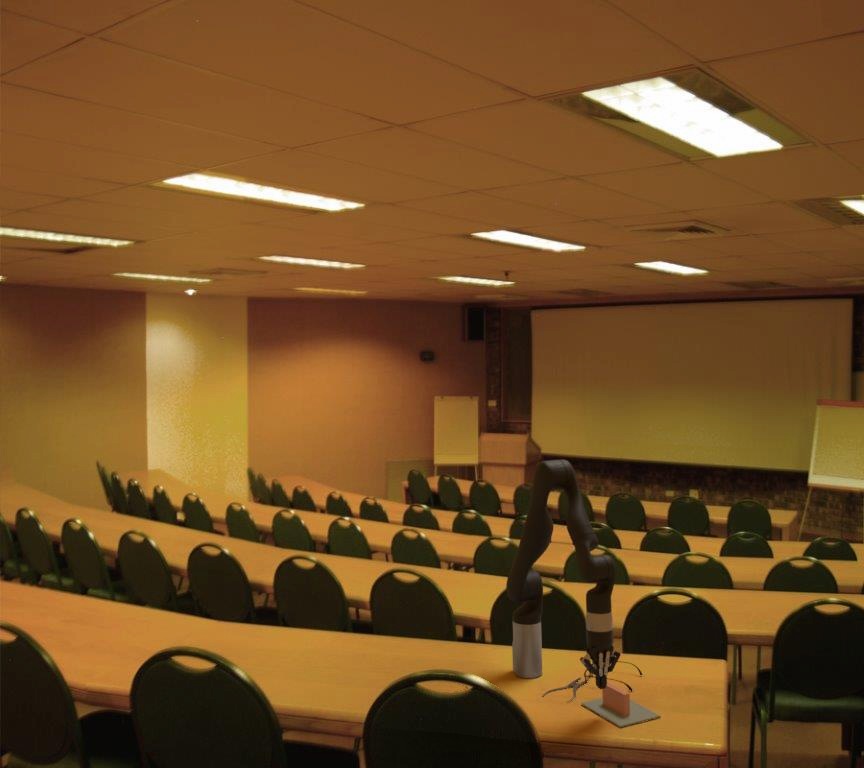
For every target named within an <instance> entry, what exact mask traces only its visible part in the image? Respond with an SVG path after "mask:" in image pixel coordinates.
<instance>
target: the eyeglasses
mask: <svg viewBox="0 0 864 768" xmlns="http://www.w3.org/2000/svg"><path fill="white" fill-rule="evenodd" d="M617 663H622V661H619V660H618V661H617ZM623 663H624V664H629V665H632V666H634V667H635V668H636V669H637V671H638V672H639V675H640V676H641V675H643V673H642V671H641V669H639V667H638V666H637V665H635V664H633V663H631V662H629V661H623ZM587 672H588V670H587V668H586V669H585V671H584V673H583V678H584V681H586V680H587V678H588V679H589V678H590V679H591V678H595V679H596V676H595V675H594V676H593V674H592V673H590V672H589V675H587V674H586V673H587ZM607 680H610V681H611V680H612V681H616V682H619V683H622V684H624V685H625V686H626V687H627V689H628V690H629V691H630V690H631V691H630V692H633V691H632V690H633V688H632V686H630V685H629V684H628V683H626V682H623V681H621V680H618V679H613V678H607ZM586 683H587V681H586ZM587 684H588V683H587Z"/></svg>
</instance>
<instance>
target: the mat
mask: <svg viewBox="0 0 864 768" xmlns="http://www.w3.org/2000/svg"><path fill="white" fill-rule="evenodd" d="M580 704H582V705H584V706H585V707H587V708H589V709H590V710H592V711H594V712H595V713H594V712H593V713H594V714H596V713H597V714H599V715H601V716H602V717H604V718H605V719H604V718H603V719H604V720H606V719H607V720H609V721H610V723H611V722H612V723H614V724H615V725H614V724H613V725H614V726H616V725H617V726H616V727H618V728H619V727H620V728H619V729H622V728H621V727H623V728H625V727H624V726H627V727H629V726H628V725H631V726H633V725H632V724H635V725H637V724H636V723H639V724H641V723H640V722H642V721H646V720H650V719H654V718H658V717H660V718H661V715H660V714H658V713H656V712H654V711H653V710H650V709H649V708H647V707H644V706H643V705H642V704H640V703H637V702H636V701H634V700H632V699H630V715H628V716H624V715H622V714H620V713H618V712H617V711H615V710H613V709H611V708H610V707H608V706H606V705H604V704H603V697H601V698H596V699H592V700H587V701H584V702H580ZM582 705H581V706H582ZM584 706H583V707H584ZM585 707H584V708H585ZM587 708H586V709H587ZM589 709H588V710H589ZM590 710H589V711H590ZM592 711H591V712H592ZM597 714H596V715H597ZM599 715H598V716H599ZM601 716H600V717H601ZM602 717H601V718H602ZM658 719H659V718H658ZM607 720H606V721H607ZM654 720H655V719H654ZM609 721H608V722H609ZM650 721H651V720H650ZM646 722H647V721H646ZM612 723H611V724H612ZM642 723H643V722H642Z"/></svg>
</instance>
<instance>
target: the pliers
mask: <svg viewBox="0 0 864 768" xmlns="http://www.w3.org/2000/svg"><path fill="white" fill-rule="evenodd" d="M581 679H582V678H581V677H578V678H576V679H575V680H573V681H571V682H570V683H569V684H567V685H566V686H562V687H557V688H553V689H550V690H547V691H546V692H544V693H542V695H541V697H542V698H544V697H545V696H546V695H548V694H550V693H552V692H558V691H562V690H563V689H564V690H567V688H568V689H570V687H571V688H572V693H573V692H574V693H573V697H572V698H571V699H569V700H568V701H566V703H567V702H569V701H572V700H573V699H574V698H575V697H576V691H578V689H579V688H581V687H580V686H582V685H584V684H586V681H588V682H589V678H588V679H587V678H586V681H585V680H583V681H581ZM578 680H580V681H581V682H579V681H578ZM576 682H578V683H576ZM586 685H587V684H586ZM584 686H585V685H584ZM573 687H574V688H573ZM582 687H583V686H582ZM557 690H558V691H557ZM576 698H577V697H576ZM576 698H575V699H576ZM575 699H574V700H575ZM574 700H573V701H574ZM573 701H572V702H573ZM569 703H570V702H569Z"/></svg>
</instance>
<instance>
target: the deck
mask: <svg viewBox="0 0 864 768" xmlns="http://www.w3.org/2000/svg"><path fill="white" fill-rule="evenodd" d="M601 690H602V698H603V704H604V705H606V706H608V707H610V708H611V709H613V710H615V711H617V712H618V713H620V714H622V715H624V716H628V715H630V700H631V699H630V692H627V691H625V690H623V689H621V688H620V687H618V686H616V685H614V684H612V683H610V682H608V681H607V686H606V688H604V689H601Z"/></svg>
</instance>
